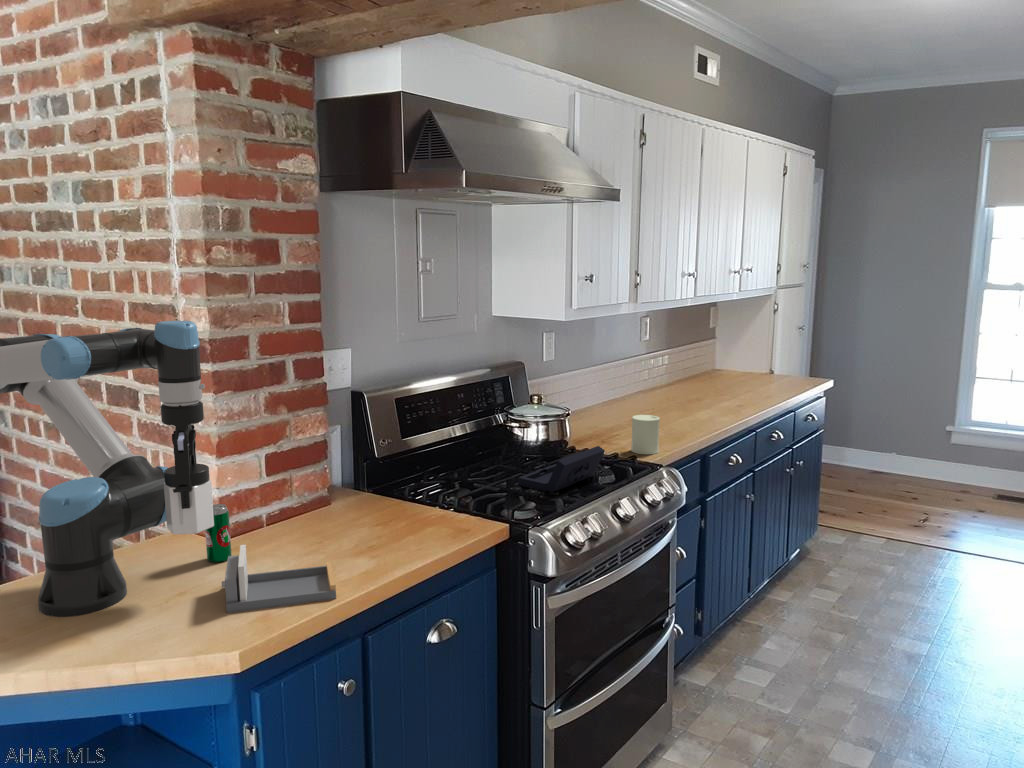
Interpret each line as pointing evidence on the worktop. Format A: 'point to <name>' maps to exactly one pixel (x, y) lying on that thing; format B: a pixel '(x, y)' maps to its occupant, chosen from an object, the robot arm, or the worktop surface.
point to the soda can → (219, 535)
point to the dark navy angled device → (564, 471)
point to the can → (645, 434)
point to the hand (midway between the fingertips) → (189, 516)
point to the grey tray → (278, 587)
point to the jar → (200, 502)
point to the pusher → (242, 574)
